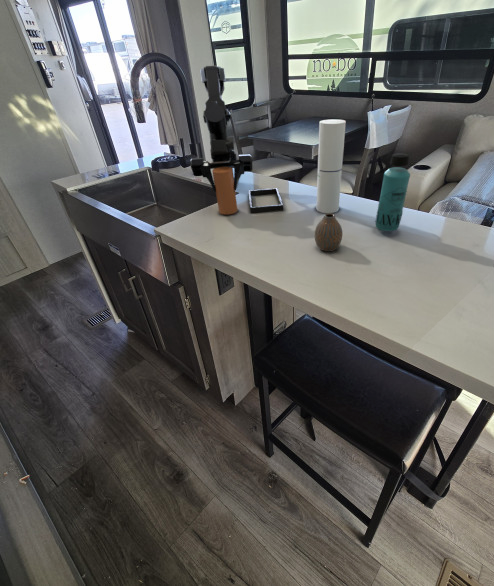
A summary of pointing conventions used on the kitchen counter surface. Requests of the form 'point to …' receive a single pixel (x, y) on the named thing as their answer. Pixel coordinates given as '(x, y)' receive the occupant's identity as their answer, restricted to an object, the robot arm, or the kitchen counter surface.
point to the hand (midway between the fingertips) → (225, 190)
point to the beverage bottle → (393, 194)
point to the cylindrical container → (330, 164)
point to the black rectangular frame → (265, 208)
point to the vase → (328, 233)
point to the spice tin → (225, 190)
